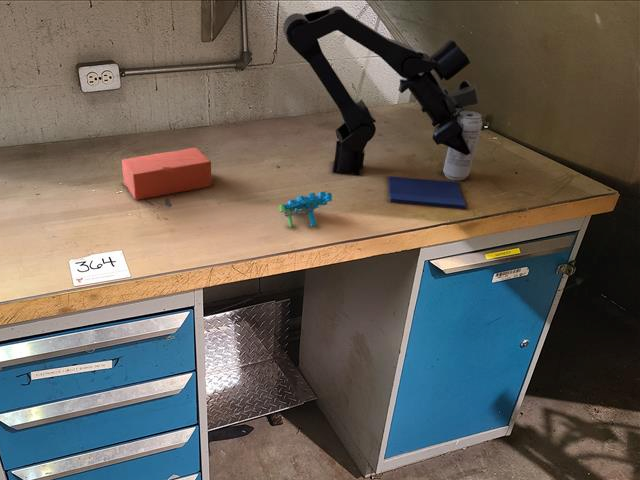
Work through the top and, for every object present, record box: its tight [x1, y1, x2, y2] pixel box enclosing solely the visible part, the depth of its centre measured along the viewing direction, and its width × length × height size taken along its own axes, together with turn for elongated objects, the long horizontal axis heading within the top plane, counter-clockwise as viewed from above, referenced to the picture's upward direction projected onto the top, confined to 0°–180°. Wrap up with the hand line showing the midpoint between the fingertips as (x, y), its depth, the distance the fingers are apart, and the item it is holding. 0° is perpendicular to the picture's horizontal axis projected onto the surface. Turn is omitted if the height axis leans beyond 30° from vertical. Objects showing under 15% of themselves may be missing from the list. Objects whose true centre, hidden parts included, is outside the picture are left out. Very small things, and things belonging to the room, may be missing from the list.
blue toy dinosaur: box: [279, 191, 333, 228], centre depth 122 cm, size 11×6×10 cm
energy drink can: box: [442, 110, 483, 181], centre depth 140 cm, size 6×6×15 cm
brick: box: [121, 147, 212, 201], centre depth 135 cm, size 18×9×6 cm, turn 116°
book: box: [388, 175, 467, 210], centre depth 136 cm, size 16×13×1 cm
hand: (468, 148), depth 140 cm, fingers open, 7 cm apart
